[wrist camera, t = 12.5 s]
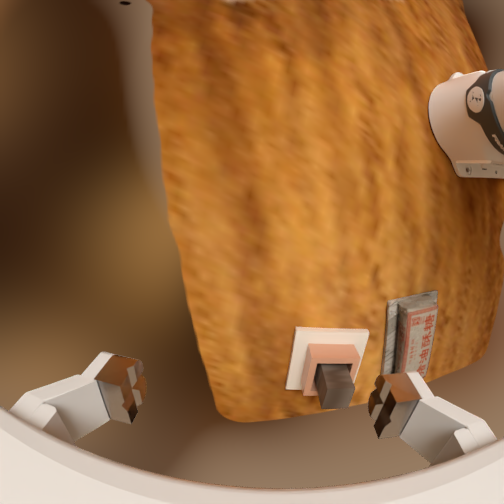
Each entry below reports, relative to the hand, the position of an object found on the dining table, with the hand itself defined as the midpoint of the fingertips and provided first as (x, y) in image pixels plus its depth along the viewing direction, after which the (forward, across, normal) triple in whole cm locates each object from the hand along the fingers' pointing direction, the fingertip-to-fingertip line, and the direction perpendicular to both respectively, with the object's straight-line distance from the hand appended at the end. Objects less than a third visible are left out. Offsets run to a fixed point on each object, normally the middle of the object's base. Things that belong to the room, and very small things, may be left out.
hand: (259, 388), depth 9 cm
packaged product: (+32, -27, +18) cm, 46 cm away
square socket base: (+32, -12, +21) cm, 40 cm away
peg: (+30, -12, +21) cm, 39 cm away
